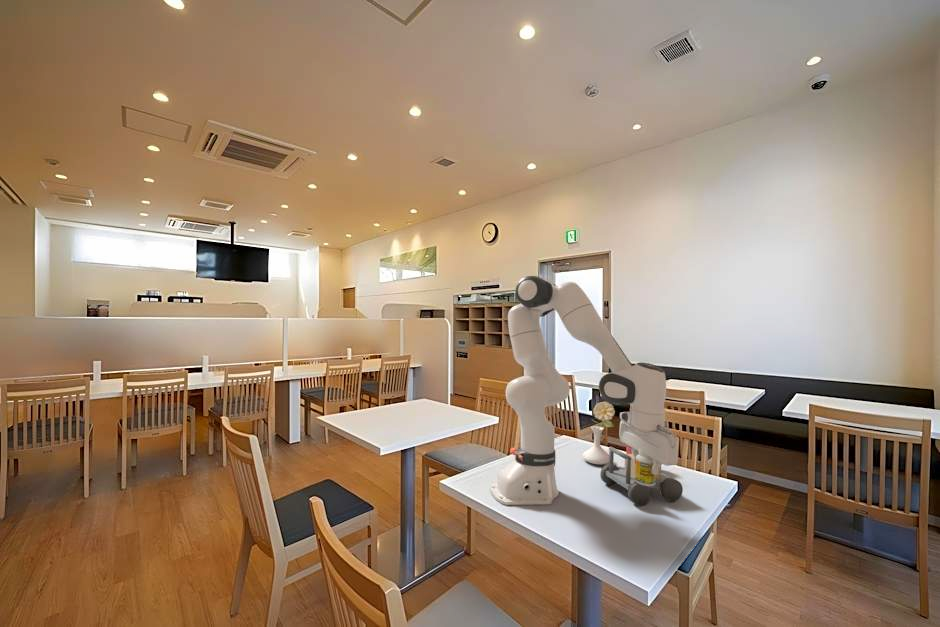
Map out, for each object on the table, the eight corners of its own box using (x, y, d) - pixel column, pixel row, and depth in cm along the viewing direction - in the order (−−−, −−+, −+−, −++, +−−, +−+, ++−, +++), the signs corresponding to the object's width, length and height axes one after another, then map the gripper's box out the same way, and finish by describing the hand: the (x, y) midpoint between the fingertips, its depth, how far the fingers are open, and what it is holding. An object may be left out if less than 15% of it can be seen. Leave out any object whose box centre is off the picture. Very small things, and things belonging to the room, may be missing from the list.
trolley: (631, 507, 122) (632, 460, 122) (600, 484, 139) (600, 443, 139) (682, 500, 127) (683, 456, 127) (646, 479, 144) (646, 440, 144)
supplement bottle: (652, 479, 115) (654, 447, 115) (657, 487, 110) (659, 453, 110) (633, 477, 116) (634, 445, 116) (637, 485, 111) (638, 451, 111)
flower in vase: (576, 461, 161) (577, 399, 161) (591, 454, 168) (592, 396, 168) (606, 471, 151) (607, 405, 151) (620, 463, 159) (622, 401, 159)
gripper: (685, 431, 103) (683, 483, 104) (633, 411, 123) (632, 455, 123) (665, 432, 102) (662, 485, 102) (616, 411, 122) (614, 456, 122)
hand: (645, 468), depth 113 cm, fingers closed on supplement bottle, 5 cm apart
